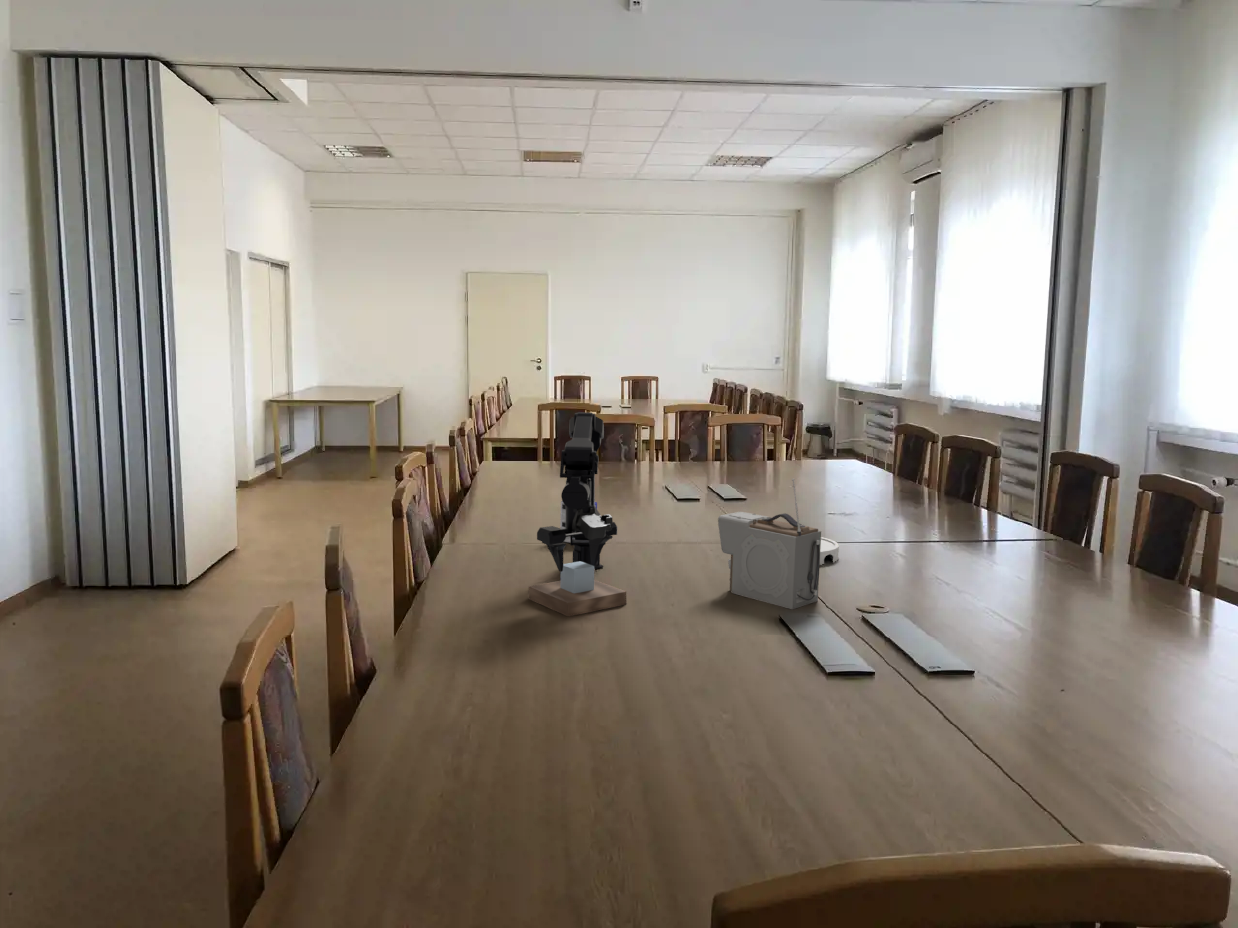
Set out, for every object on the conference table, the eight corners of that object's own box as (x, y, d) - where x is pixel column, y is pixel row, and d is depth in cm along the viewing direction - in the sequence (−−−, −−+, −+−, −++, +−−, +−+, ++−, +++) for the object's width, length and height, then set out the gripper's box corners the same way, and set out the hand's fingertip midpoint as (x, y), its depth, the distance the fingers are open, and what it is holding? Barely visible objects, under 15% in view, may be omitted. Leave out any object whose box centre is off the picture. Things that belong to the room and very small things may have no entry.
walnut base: (585, 588, 219) (585, 575, 218) (626, 604, 206) (626, 591, 206) (528, 598, 209) (528, 586, 208) (568, 616, 196) (568, 603, 196)
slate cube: (580, 584, 211) (580, 561, 210) (594, 589, 207) (594, 566, 206) (560, 587, 208) (560, 564, 207) (574, 593, 203) (574, 569, 203)
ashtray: (832, 548, 266) (833, 535, 266) (844, 568, 244) (844, 553, 243) (752, 545, 268) (753, 532, 268) (757, 564, 246) (757, 550, 245)
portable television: (741, 580, 228) (746, 462, 224) (822, 601, 211) (829, 474, 207) (710, 589, 220) (714, 467, 215) (792, 611, 203) (799, 479, 199)
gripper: (564, 510, 192) (563, 582, 194) (633, 502, 204) (631, 570, 206) (535, 502, 201) (535, 571, 203) (603, 495, 212) (602, 560, 214)
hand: (577, 568), depth 206 cm, fingers open, 9 cm apart
